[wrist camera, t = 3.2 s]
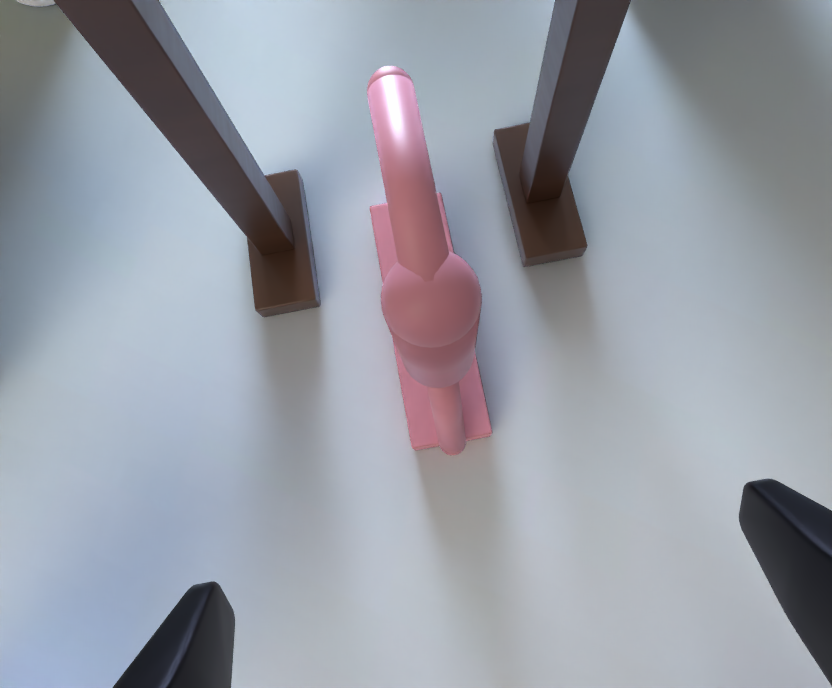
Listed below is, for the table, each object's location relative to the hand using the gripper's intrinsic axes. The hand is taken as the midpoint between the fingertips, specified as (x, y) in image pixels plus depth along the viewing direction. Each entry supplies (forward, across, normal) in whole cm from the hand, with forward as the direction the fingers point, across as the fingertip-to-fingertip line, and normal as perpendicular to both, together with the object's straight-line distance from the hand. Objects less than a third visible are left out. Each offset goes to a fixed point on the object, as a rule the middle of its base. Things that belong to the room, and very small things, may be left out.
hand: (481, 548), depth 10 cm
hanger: (+14, 0, +3) cm, 14 cm away
